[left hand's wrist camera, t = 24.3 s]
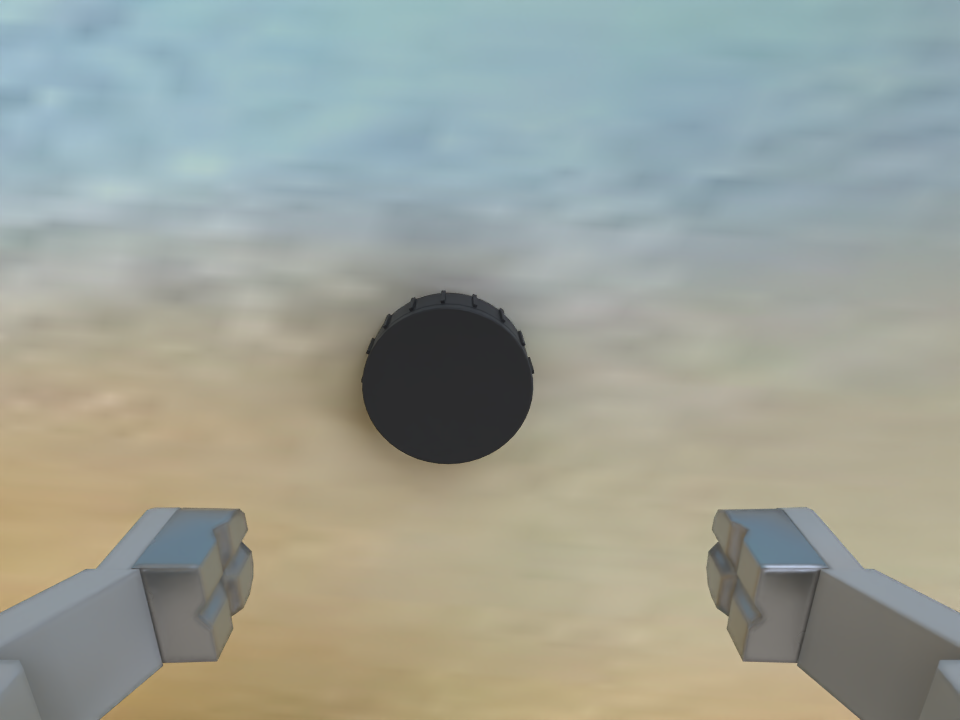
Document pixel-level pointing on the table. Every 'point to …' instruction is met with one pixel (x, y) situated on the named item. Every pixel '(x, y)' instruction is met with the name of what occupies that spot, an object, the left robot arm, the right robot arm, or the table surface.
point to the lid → (447, 379)
